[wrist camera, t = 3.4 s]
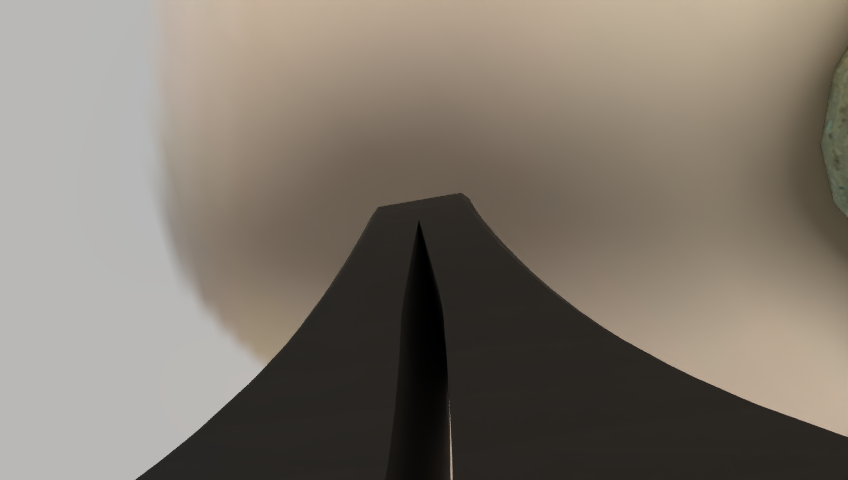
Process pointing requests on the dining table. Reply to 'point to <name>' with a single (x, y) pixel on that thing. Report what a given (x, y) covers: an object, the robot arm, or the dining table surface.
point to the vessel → (837, 136)
